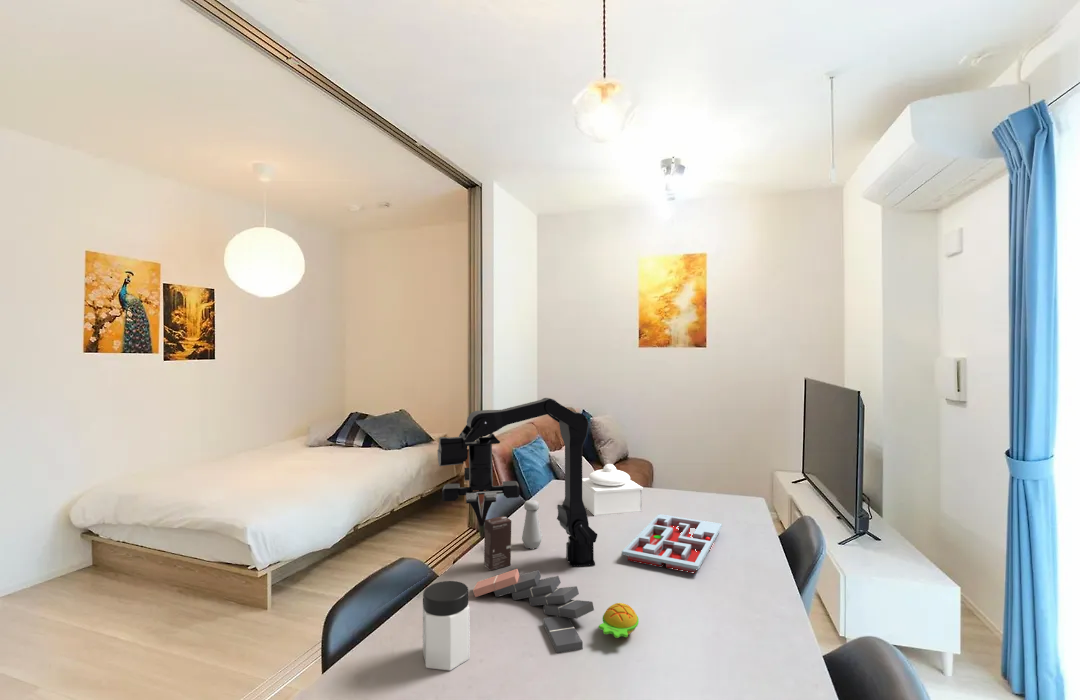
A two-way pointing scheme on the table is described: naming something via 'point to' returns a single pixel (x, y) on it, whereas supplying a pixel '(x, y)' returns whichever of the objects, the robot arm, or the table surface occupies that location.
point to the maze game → (673, 542)
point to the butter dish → (611, 492)
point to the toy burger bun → (619, 620)
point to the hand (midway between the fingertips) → (481, 525)
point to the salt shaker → (531, 525)
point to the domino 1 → (496, 582)
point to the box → (497, 543)
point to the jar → (446, 625)
